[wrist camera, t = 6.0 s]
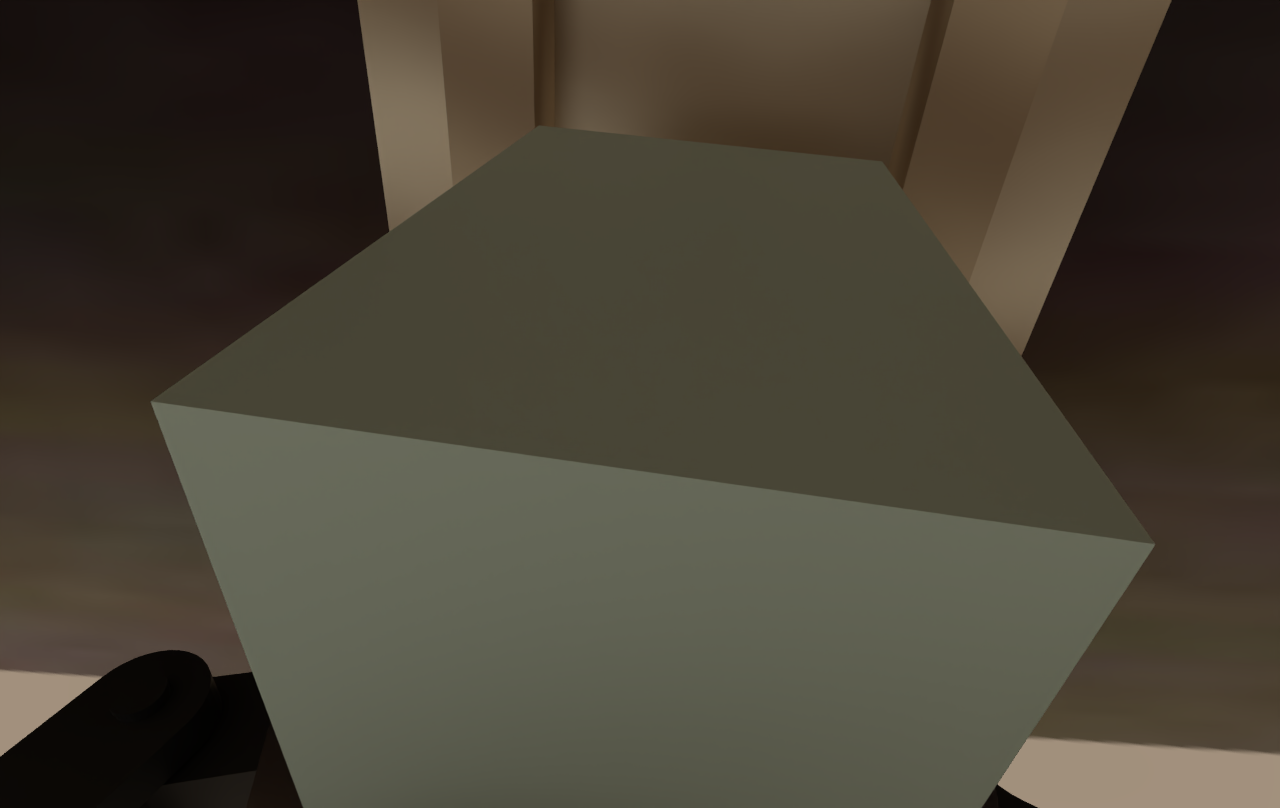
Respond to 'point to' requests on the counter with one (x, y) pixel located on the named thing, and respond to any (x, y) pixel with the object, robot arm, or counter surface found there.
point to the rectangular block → (649, 497)
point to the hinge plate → (787, 100)
